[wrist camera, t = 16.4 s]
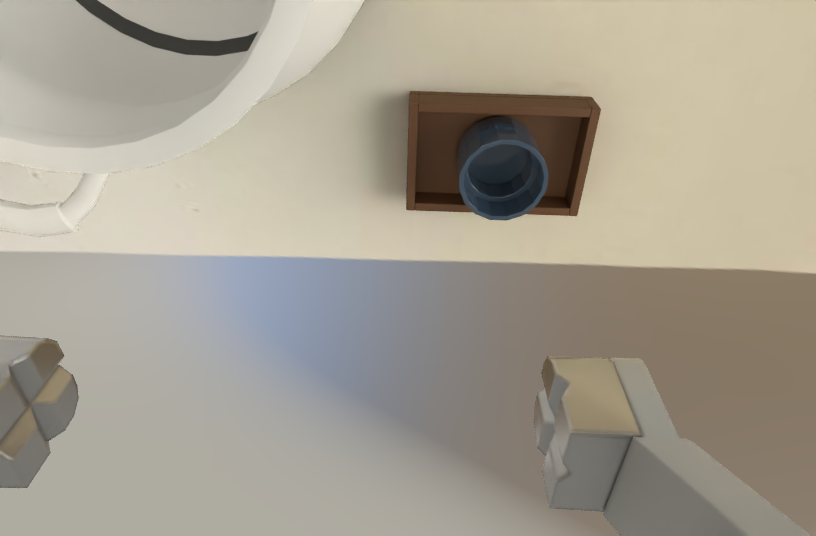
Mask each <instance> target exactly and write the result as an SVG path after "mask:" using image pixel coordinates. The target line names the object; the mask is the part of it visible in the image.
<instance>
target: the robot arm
mask: <svg viewBox="0 0 816 536" xmlns="http://www.w3.org/2000/svg"><path fill="white" fill-rule="evenodd" d="M63 357H64V354H63V352H62V350H61V348H60V347H59V344H58V343H57V341H55V340H51V339H48V338H34V337H17V336H1V335H0V488H27V487H28V486H29V484H30V483H31V481H32V480H33V478H34V477H35V475H36V474H37V472H38V471H39V469H40V468H41V466H42V465H43V463H44V462H45V460H46V459H47V457H48V456H49V454H50V447H49V440H51V439H52V438H54V437H55V436H57V435H58V434H60V433H61V432H63V431H65V429H66V428H67V426H68V425H69V423H70V421H71V420H72V418H73V416H74V414H75V410H76V406H77V402H78V388H77V384H76V382H75V379H74V377H73V375H72V374H71V373H69V372H68V371H67V370H65V369H64V368H63V367H61V366H60V363H61V361H62V359H63ZM542 378H543V382H544V387H543V388H542V389H541V390H540V391H538V392H537V396H536V402H535V410H534V428H535V437H536V442H537V447H538V449H539V450H540V451H541V452H542V453H543V454H544V455H545V456H546V458H545V462H544V466H543V470H542V473H543V478H544V483H545V488H546V493H547V498H548V503H549V507H550V508H555V509H570V510H585V511H601V512H604V513H603V515H604V516H605V517H606V518H607V520H608V521H609V522H610V524H611V525H612V526H613V527H614V528H615V530H616V531H617V532H618V533H619V535H620V536H811V535H809V534H808V533H807V532H806V531H804V530H803V529H802V528H801V527H799V526H798V525H797V524H796V523H794V522H793V521H792V520H790V519H789V518H788V517H787V516H785V515H784V514H783V513H782V512H780V511H779V510H778V509H777V508H775V507H774V506H773V505H772V504H770V503H769V502H768V501H767V500H765V499H764V498H763V497H761V496H760V495H759V494H758V493H756V492H755V491H754V490H753V489H751V488H750V487H749V486H748V485H746V484H745V483H744V482H742V481H741V480H740V479H739V478H738V477H736V476H735V475H734V474H732V473H731V472H730V471H729V470H727V469H726V468H724V466H722V465H721V464H720V463H718V462H717V461H716V460H715V459H713V458H712V457H711V456H710V455H708V454H707V453H706V452H705V451H703V450H702V449H701V448H700V447H698V446H697V445H696V444H695V443H693V442H692V441H691V440H690V439H679V437H678V434H677V432H676V430H675V428H674V426H673V424H672V422H671V419H670V417H669V415H668V413H667V411H666V408H665V406H664V404H663V402H662V400H661V398H660V396H659V393H658V391H657V389H656V387H655V385H654V382H653V381H652V378H651V376H650V374H649V372H648V369H647V367H646V365H645V363H644V362H643V361H642V360H641V359H639V358H608V359H607V358H586V357H550V356H547V358H546V360H545V362H544V365H543V369H542Z"/></svg>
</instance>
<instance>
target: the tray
mask: <svg viewBox="0 0 816 536" xmlns="http://www.w3.org/2000/svg"><path fill="white" fill-rule="evenodd" d="M600 111H601V109H600V107H599V106H598V105H597V103H596V102H595V101H594V99H593V98H592V97H571V96H541V95H511V94H481V93H451V92H421V91H410V98H409V127H408V164H407V202H406V210H420V211H449V212H473V211H472V210H471V209H470V208H469V207H468V206H467V205H466V204H465V203H464V201H463V198H462V195H461V193H460V190H459V184H458V175H457V166H456V156H457V147H458V145H459V143H460V141H461V139H462V137H463V136H464V134H465V132H467V131H468V130H469V129H470V128H471V127H472V126H474V125H475V124H476V123H478V122H480V121H483V120H486V119H489V118H492V117H493V118H494V117H509V118H512V119H515V120H517V121H519V122H521V123H523V124H524V125H526V126H527V127H528V129H529V130H530V131H531V132H532V133H533V134H534V136H535V138H536V140H537V143H538V145H539V148H540V150H541V152H542V155H543V157H544V159H545V163H546V166H547V170H548V174H549V177H548V183H547V188H546V192H545V193H544V195H543V196H542V198H541V199H540V201H539V203H538V204H537V205H536V206H535V207H534V208H532V209H531V210H530V211H528V212H527V213H525V214H536V215H565V216H568V215H569V216H577V214H578V209H579V205H580V200H581V196H582V191H583V187H584V182H585V178H586V174H587V169H588V165H589V160H590V156H591V151H592V147H593V142H594V138H595V133H596V129H597V124H598V120H599V116H600Z"/></svg>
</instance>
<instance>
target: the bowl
mask: <svg viewBox="0 0 816 536" xmlns="http://www.w3.org/2000/svg"><path fill="white" fill-rule="evenodd" d="M456 166H457V175H458V184H459V190H460V193H461V195H462V198H463V201H464V203H465V204H466V205H467V206H468V207H469V208H470V209H471V210H472V211H473V212H474V213H475V214H477V215H480V216H482V217H485V218H487V219H489V220H509V219H513V218H516V217H519V216H522V215H524V214H525V213H527V212H528V211H530V210H531V209H532V208H534V207H535V206H536V205H537V204H538V203H539V201H540V199H541V198H542V196H543V195H544V193H545V192H546V188H547V183H548V177H549V174H548V170H547V166H546V163H545V159H544V157H543V155H542V152H541V150H540V148H539V145H538V143H537V140H536V138H535V136H534V134H533V133H532V132H531V131H530V130H529V129H528V127H527V126H526V125H524V124H523V123H521V122H519V121H517V120H515V119H512V118H509V117H494V118H493V117H492V118H489V119H486V120H483V121H480V122H478V123H476V124H475V125H474V126H472V127H471V128H470V129H469V130H468V131H467V132H465V134H464V136H463V137H462V139H461V141H460V143H459V145H458V147H457V156H456Z"/></svg>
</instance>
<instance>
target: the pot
mask: <svg viewBox="0 0 816 536" xmlns="http://www.w3.org/2000/svg"><path fill="white" fill-rule="evenodd" d="M363 2H364V0H0V161H1V162H6V163H11V164H15V165H20V166H25V167H30V168H34V169H39V170H44V171H49V172H62V173H84V175H83V177H82V179H81V180H80V182H79V184H78V186H77V188H76V189H75V191H74V192H73V193H72V194H71V195H70V196H69V197H68V198H67V200H66V201H65V202H64V203H61V202H57V203H49V204H40V205H27V204H22V203H16V202H11V201H5V200H1V199H0V230H2V231H7V232H13V233H19V234H24V235H30V236H35V237H45V236H52V235H59V234H65V233H72V232H76V231H78V230H79V224H78V223H79V222H80V221H81V220H82V219H83V218H84V217H85V216H86V215H87V214H88V213H89V212H90V211H91V210H92V209H93V208H94V207H95V205H96V203H97V201H98V198H99V196H100V194H101V192H102V189H103V187H104V185H105V183H106V181H107V178H108V175H109V173H114V172H121V171H128V170H135V169H142V168H149V167H153V166H156V165H159V164H161V163H164V162H167V161H169V160H172V159H175V158H178V157H180V156H183V155H186V154H188V153H191V152H194V151H196V150H198V149H199V148H201V147H202V146H204V145H205V144H207V143H208V142H210V141H211V140H213V139H214V138H216V137H217V136H219V135H220V134H222V133H223V132H225V131H226V130H228V129H229V128H231V127H232V126H234V125H235V124H236V123H237V122H238V121H239V120H240V119H241V118H242V117H243V116H244V115H245V114H246V113H247V112H248V111H249V109H250V108H251V107H252V106H253V105H254V104H256V103H259V102H262V101H264V100H266V99H268V98H271V97H273V96H275V95H277V94H278V93H280V92H281V91H283V90H284V89H286V88H287V87H289V86H290V85H292V84H293V83H295V82H296V81H298V80H299V79H301V78H302V77H304V76H305V75H307V74H308V73H310V72H311V71H312V70H313V69H314V67H315V66H316V65H317V64H318V63H319V62H320V61H321V60H322V59H323V58H324V57H325V56H326V55H327V54H328V53H329V52H330V51H331V50H332V49H333V48H334V47H335V46H336V45H337V44H338V42H339V41H340V39H341V38H342V36H343V35H344V33H345V31H346V30H347V28H348V27H349V25H350V23H351V22H352V20H353V18H354V17H355V15H356V14H357V12H358V10H359V9H360V7H361V6H362V4H363Z"/></svg>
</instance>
